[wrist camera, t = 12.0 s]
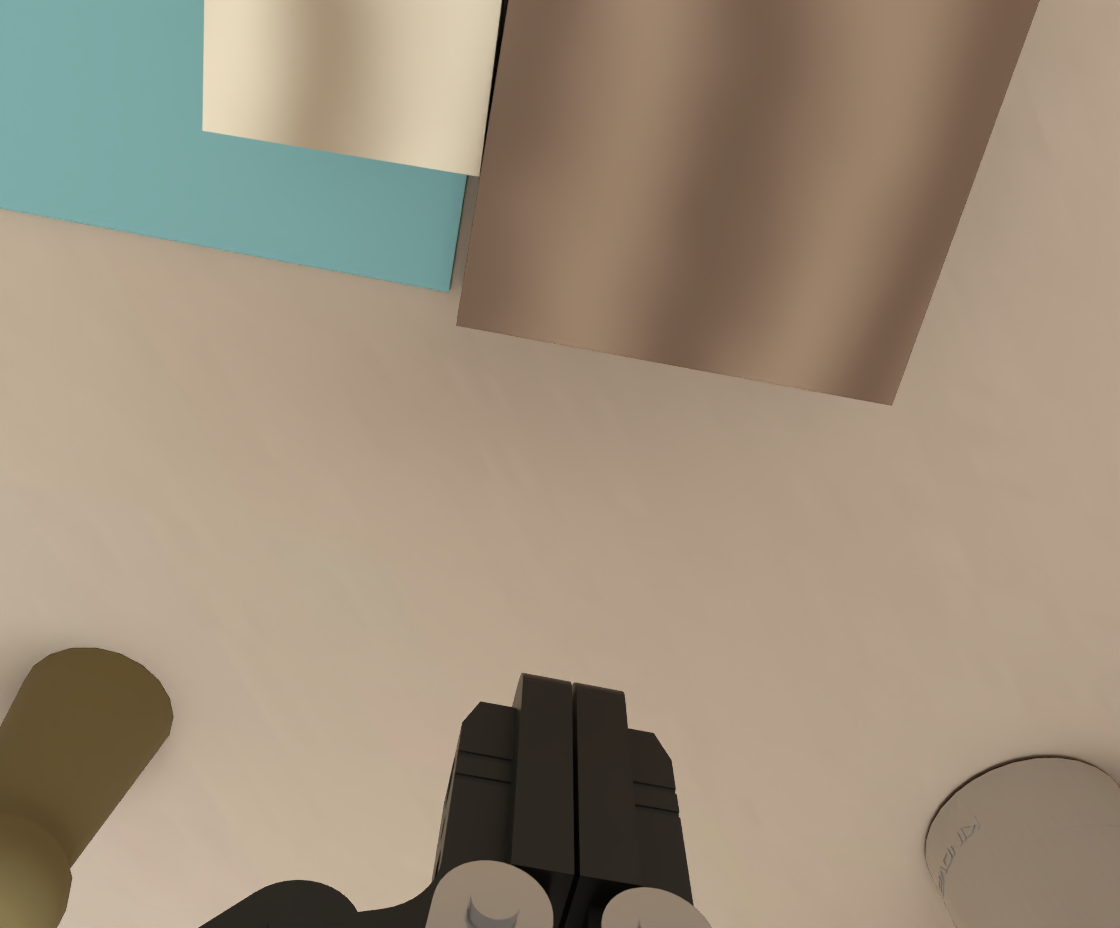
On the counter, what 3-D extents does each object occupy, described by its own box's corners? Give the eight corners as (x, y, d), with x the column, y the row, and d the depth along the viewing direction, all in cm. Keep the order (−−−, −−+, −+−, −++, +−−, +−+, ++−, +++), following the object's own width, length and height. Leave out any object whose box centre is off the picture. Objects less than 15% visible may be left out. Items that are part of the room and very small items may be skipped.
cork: (44, 625, 38) (-130, 841, 28) (193, 681, 39) (78, 907, 29) (4, 734, 40) (-172, 972, 30) (146, 784, 41) (24, 1027, 31)
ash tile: (509, -44, 28) (508, -50, 26) (482, 165, 31) (479, 176, 28) (232, -97, 28) (205, -108, 25) (227, 122, 30) (202, 130, 28)
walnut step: (1029, -152, 28) (1104, -178, 24) (853, 365, 34) (891, 405, 31) (555, -272, 26) (560, -321, 23) (463, 292, 33) (456, 325, 29)
